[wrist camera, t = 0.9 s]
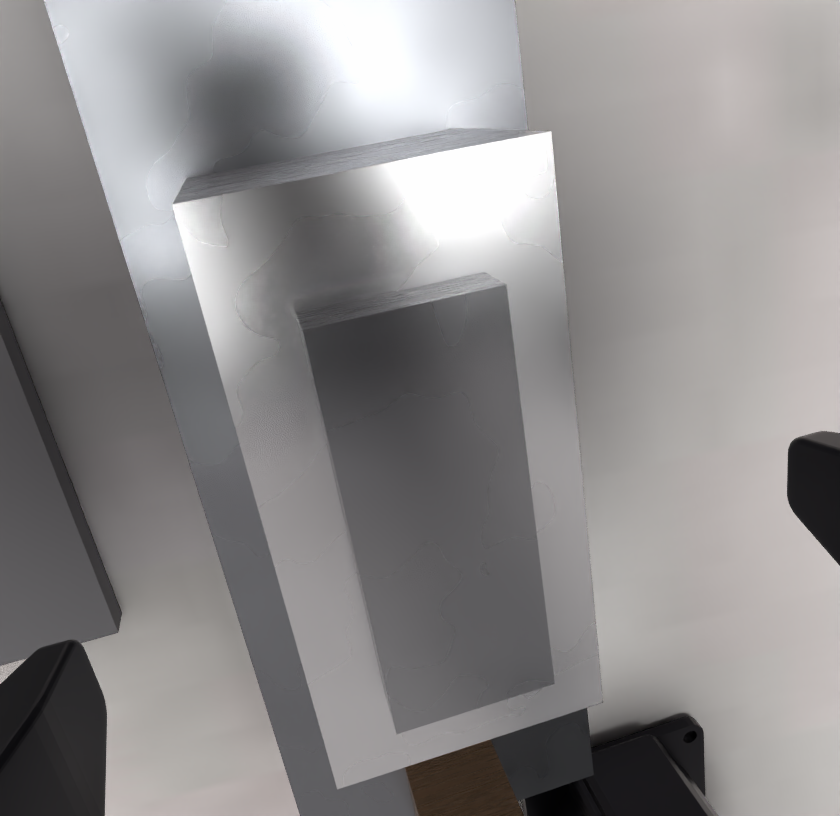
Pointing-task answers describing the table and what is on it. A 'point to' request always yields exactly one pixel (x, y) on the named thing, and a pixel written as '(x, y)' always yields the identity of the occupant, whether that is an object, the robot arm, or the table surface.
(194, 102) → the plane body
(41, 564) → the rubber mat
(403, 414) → the grey rectangular block
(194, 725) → the table surface
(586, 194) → the table surface
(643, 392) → the table surface
